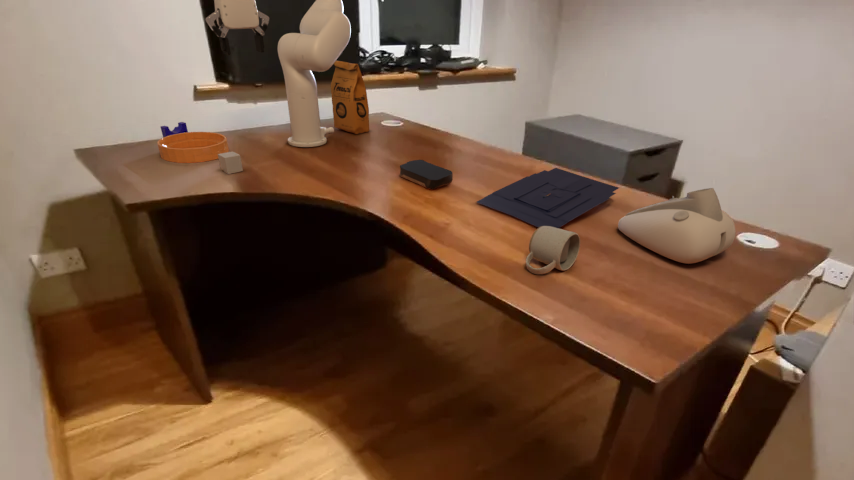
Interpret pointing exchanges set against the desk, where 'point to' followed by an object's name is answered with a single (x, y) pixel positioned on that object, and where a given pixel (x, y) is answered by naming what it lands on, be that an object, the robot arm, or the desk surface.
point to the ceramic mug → (553, 249)
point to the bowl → (192, 147)
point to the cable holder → (179, 129)
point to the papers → (549, 197)
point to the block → (230, 162)
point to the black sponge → (426, 174)
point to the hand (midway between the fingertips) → (243, 53)
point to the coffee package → (349, 98)
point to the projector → (682, 227)
